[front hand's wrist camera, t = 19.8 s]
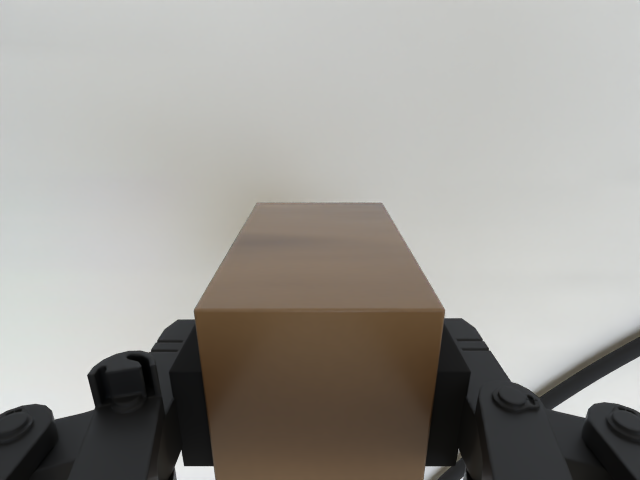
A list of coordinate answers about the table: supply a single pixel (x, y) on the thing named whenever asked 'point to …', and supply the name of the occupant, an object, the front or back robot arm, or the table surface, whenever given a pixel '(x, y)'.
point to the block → (319, 348)
